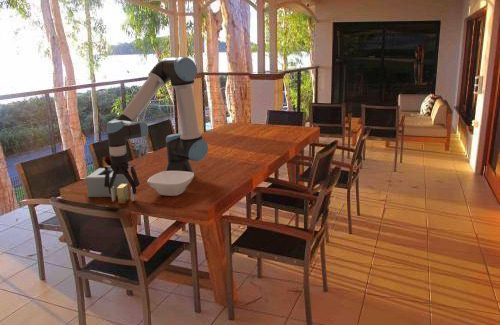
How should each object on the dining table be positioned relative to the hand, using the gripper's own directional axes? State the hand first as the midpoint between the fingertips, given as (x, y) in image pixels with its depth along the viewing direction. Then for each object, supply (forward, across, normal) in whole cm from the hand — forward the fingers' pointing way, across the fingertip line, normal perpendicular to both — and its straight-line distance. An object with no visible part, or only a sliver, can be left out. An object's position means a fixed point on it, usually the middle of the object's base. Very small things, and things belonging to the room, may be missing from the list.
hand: (123, 200), depth 208 cm
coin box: (0, +13, -14) cm, 19 cm away
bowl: (0, -21, -10) cm, 23 cm away
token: (0, 0, 0) cm, 0 cm away
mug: (0, +17, -35) cm, 39 cm away
